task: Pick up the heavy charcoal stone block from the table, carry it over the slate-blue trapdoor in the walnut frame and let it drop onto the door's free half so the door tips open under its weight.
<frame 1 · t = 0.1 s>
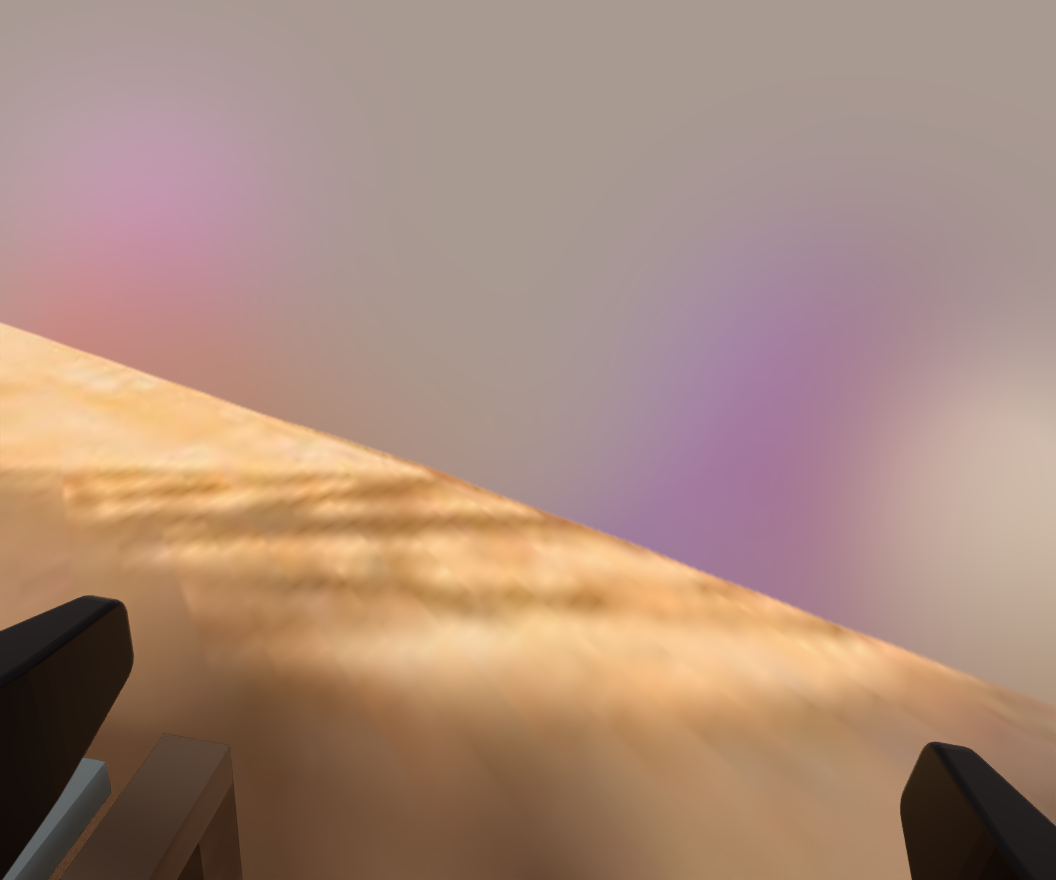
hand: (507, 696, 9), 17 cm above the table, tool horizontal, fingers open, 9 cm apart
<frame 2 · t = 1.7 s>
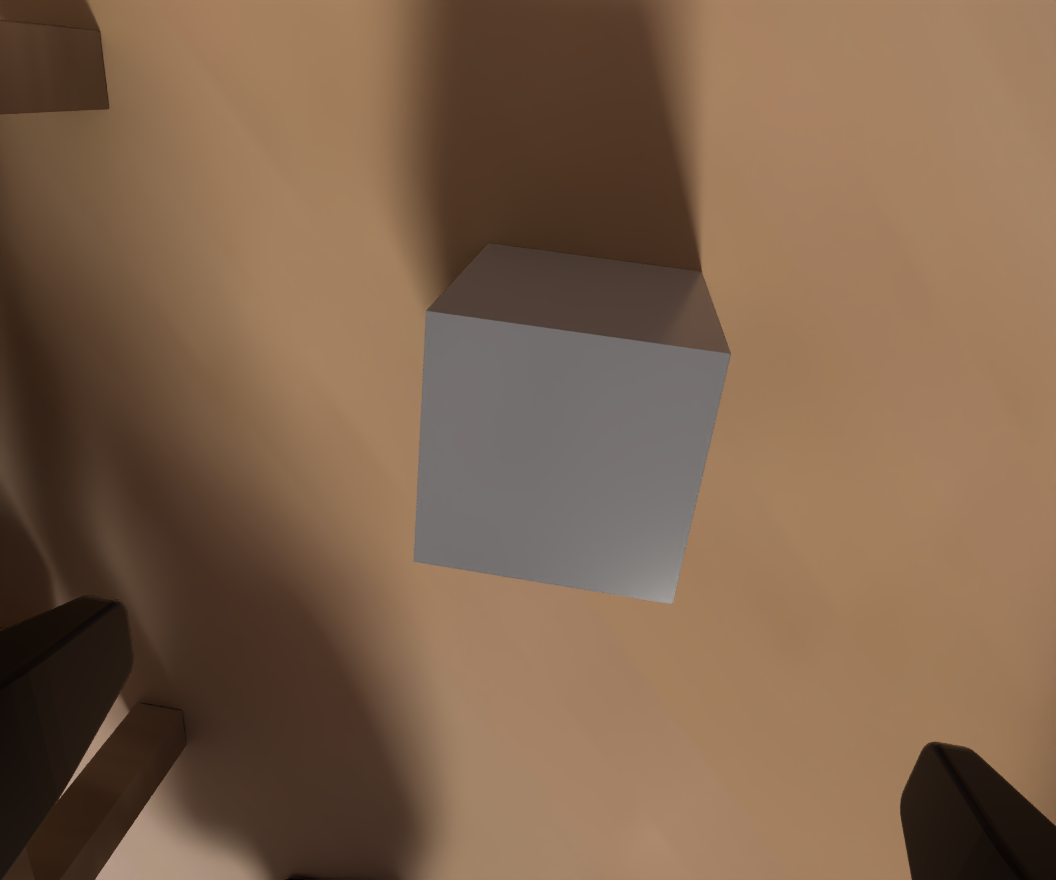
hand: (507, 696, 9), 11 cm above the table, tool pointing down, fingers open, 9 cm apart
stone: (579, 357, 19), on the table
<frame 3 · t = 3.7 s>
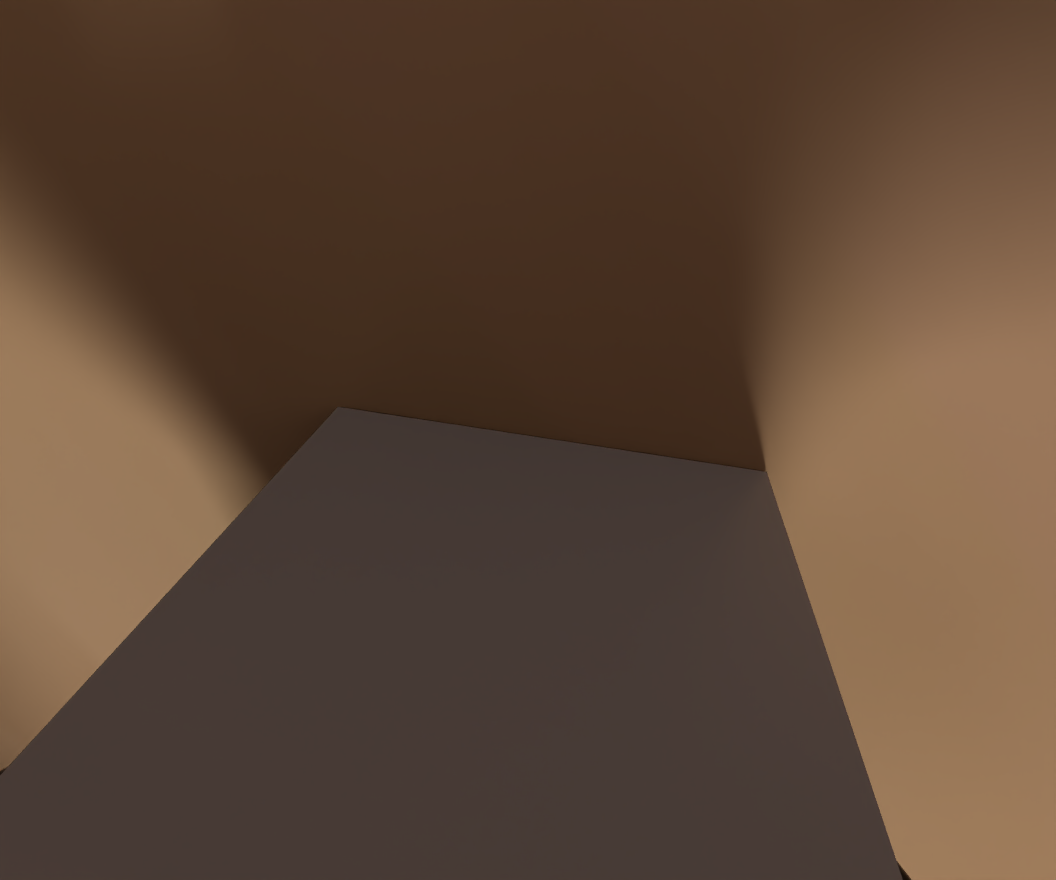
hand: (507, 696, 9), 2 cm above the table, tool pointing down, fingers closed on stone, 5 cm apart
stone: (525, 611, 10), on the table, touching gripper
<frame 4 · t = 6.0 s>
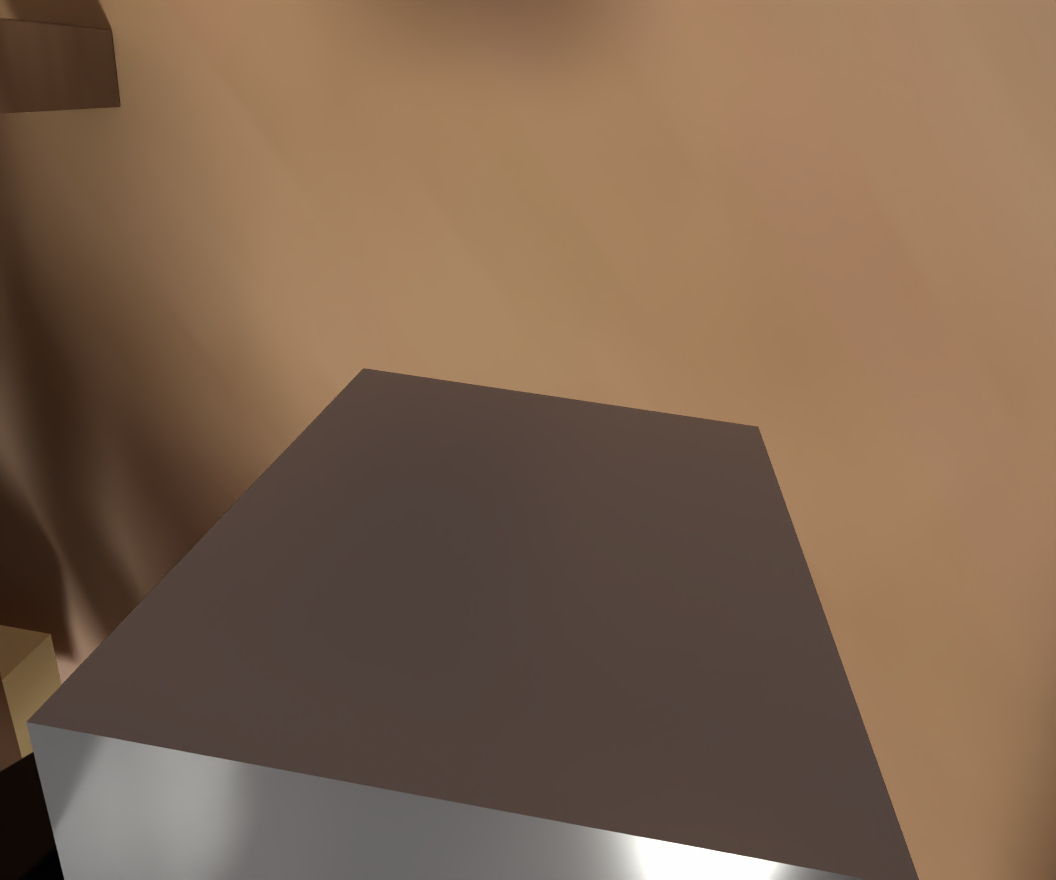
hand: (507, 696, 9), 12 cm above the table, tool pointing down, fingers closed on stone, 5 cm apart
stone: (535, 561, 11), point 9 cm above the table, touching gripper
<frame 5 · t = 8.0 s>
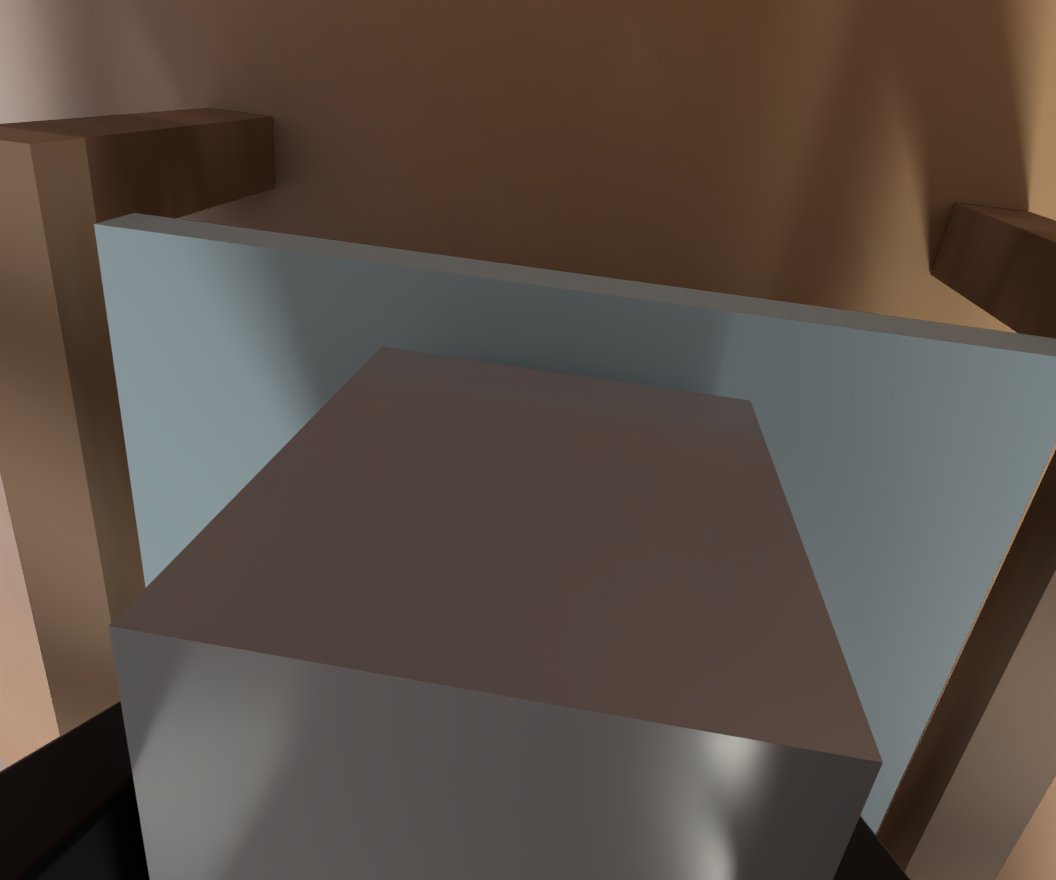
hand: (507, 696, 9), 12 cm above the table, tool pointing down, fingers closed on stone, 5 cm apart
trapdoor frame: (559, 467, 21), on the table
trapdoor: (526, 671, 18), point 5 cm above the table, hinge at 0.0°
stone: (541, 530, 11), point 9 cm above the table, touching gripper
when the fingers open (12 cm above the table, at t = 8.8 s): stone drops 6 cm and tips over, resting on trapdoor.
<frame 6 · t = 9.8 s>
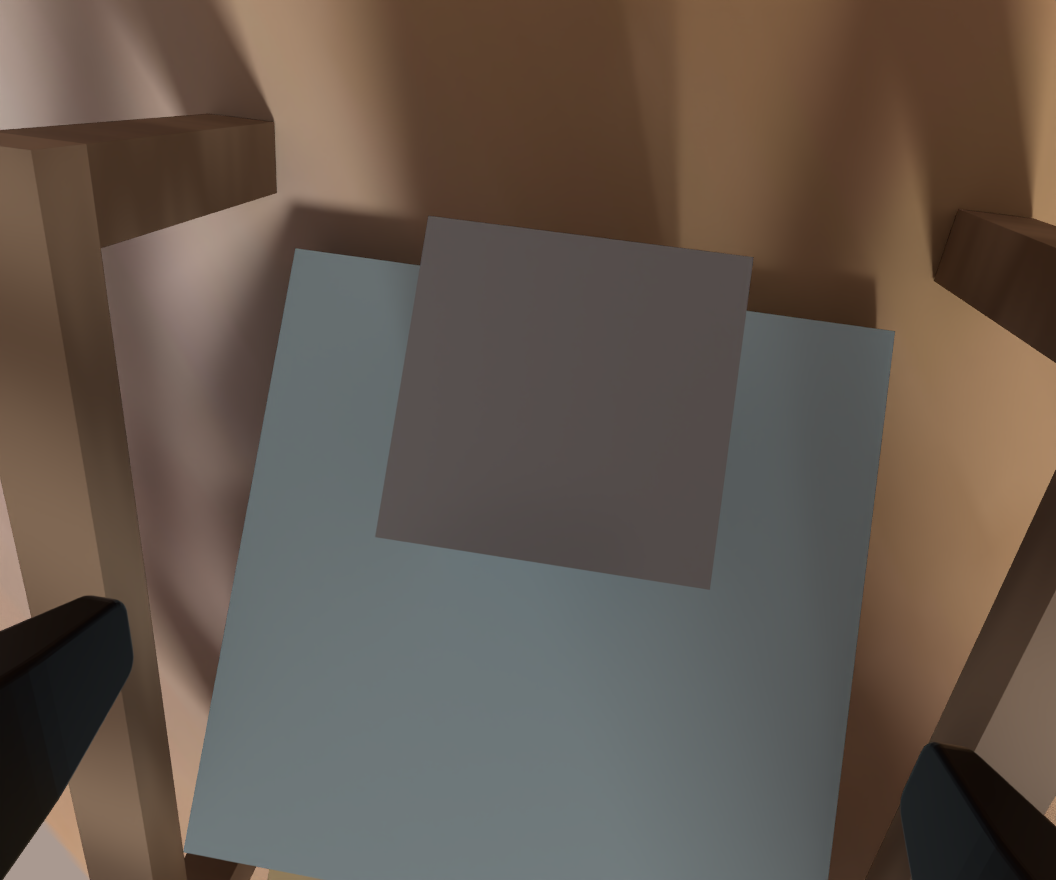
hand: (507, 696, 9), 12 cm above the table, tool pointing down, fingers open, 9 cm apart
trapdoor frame: (561, 473, 21), on the table
trapdoor: (527, 690, 20), point 3 cm above the table, hinge at -30.3°, touching stone
stone: (566, 434, 17), point 3 cm above the table, tilted 30°, touching trapdoor
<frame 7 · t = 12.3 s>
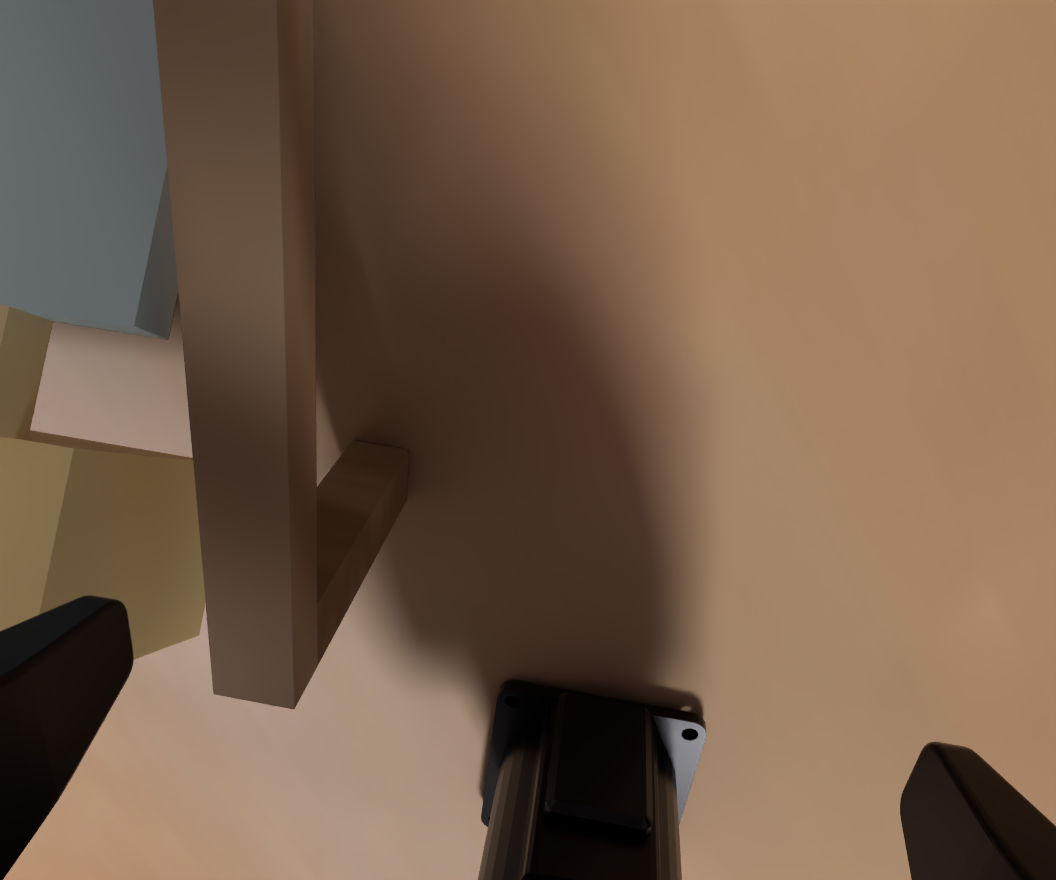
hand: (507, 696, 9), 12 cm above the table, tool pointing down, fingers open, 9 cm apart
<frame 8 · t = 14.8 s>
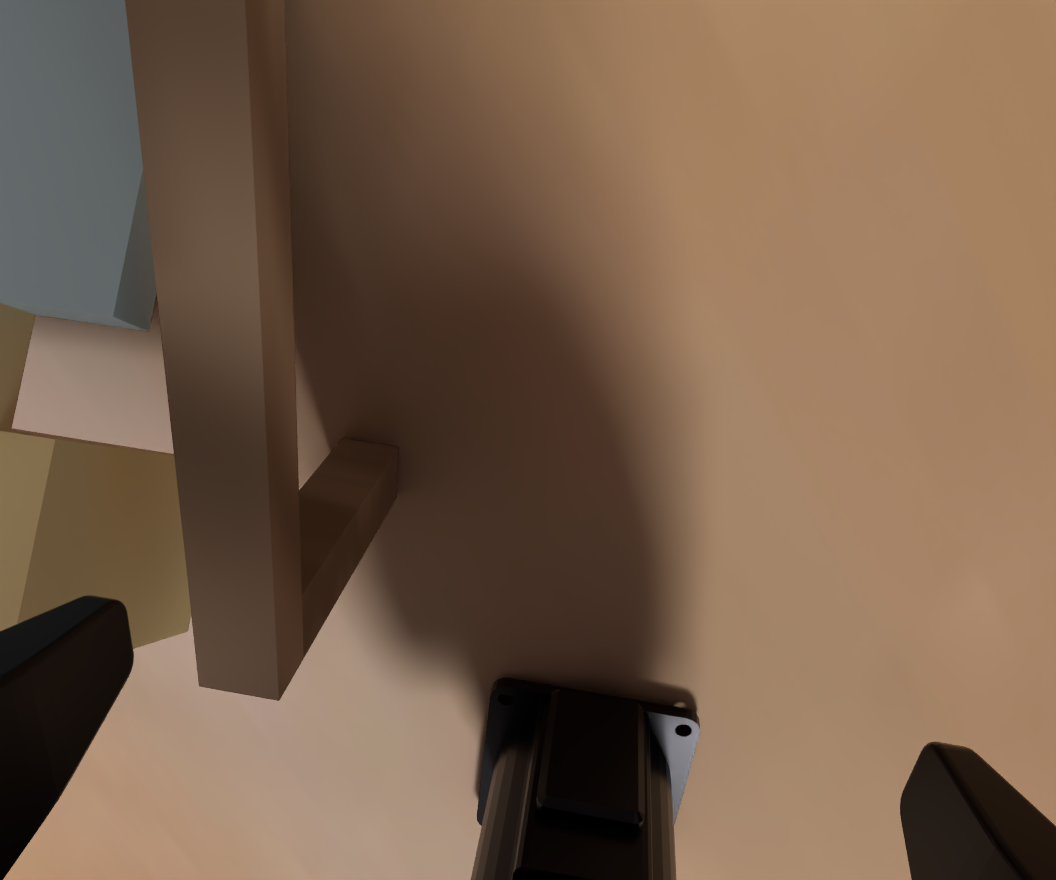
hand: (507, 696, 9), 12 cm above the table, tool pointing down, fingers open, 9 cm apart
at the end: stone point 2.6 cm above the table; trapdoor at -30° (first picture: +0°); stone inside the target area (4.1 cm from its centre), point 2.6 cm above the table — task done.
